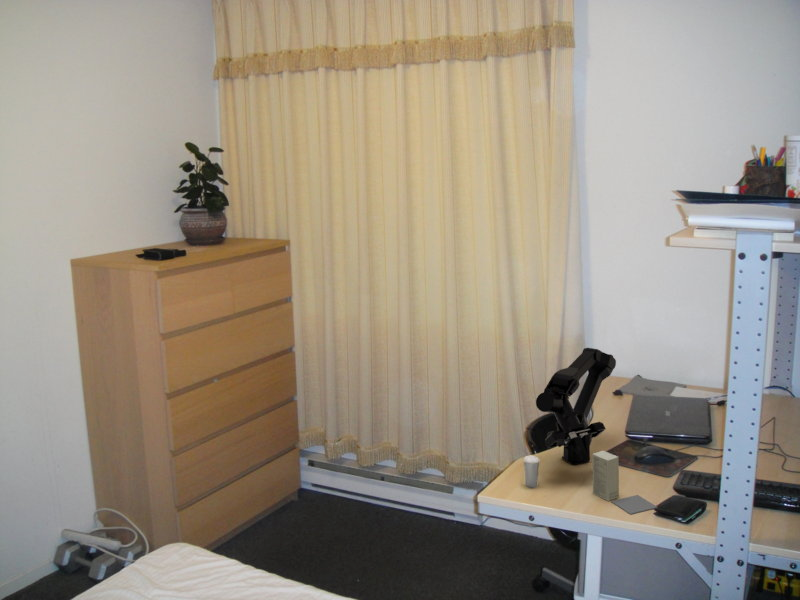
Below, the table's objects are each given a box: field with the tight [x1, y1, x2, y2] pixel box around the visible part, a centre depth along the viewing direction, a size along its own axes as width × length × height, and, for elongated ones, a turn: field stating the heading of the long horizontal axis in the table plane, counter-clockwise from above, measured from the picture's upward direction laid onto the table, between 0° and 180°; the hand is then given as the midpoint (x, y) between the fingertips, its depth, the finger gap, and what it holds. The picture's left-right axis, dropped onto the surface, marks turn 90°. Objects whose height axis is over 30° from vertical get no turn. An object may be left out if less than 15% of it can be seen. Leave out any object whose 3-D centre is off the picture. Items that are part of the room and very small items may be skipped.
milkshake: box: [523, 454, 543, 489], centre depth 204 cm, size 4×5×10 cm
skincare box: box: [591, 450, 620, 502], centre depth 196 cm, size 6×4×12 cm
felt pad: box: [610, 494, 658, 515], centre depth 191 cm, size 9×8×1 cm
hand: (588, 461), depth 202 cm, fingers closed
